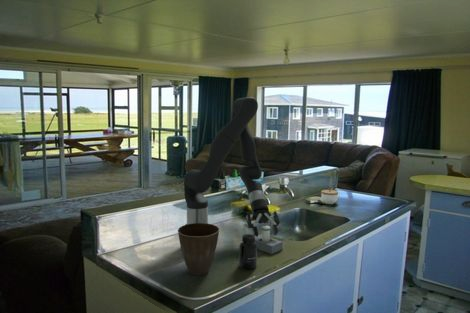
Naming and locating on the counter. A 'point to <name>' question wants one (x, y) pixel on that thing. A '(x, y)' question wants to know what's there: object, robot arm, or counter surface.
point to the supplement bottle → (248, 252)
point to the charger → (265, 233)
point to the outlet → (268, 245)
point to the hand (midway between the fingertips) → (266, 235)
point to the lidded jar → (329, 196)
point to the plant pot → (198, 246)
